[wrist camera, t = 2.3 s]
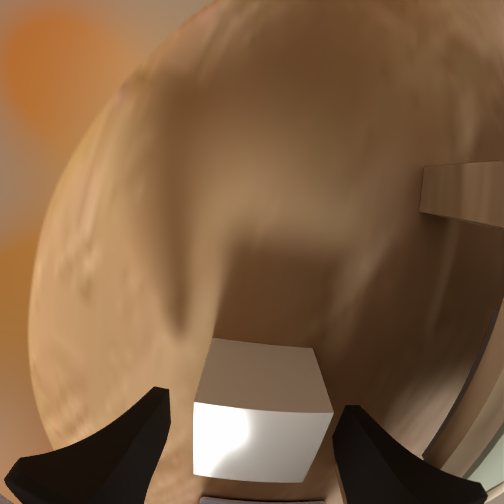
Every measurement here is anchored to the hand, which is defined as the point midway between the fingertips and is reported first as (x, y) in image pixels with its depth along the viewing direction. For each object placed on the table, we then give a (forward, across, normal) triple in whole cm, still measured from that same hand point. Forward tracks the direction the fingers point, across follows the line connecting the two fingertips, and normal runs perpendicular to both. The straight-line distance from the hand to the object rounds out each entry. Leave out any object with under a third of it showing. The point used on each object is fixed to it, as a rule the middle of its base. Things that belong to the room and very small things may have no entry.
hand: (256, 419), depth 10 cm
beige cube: (+3, 0, 0) cm, 3 cm away
